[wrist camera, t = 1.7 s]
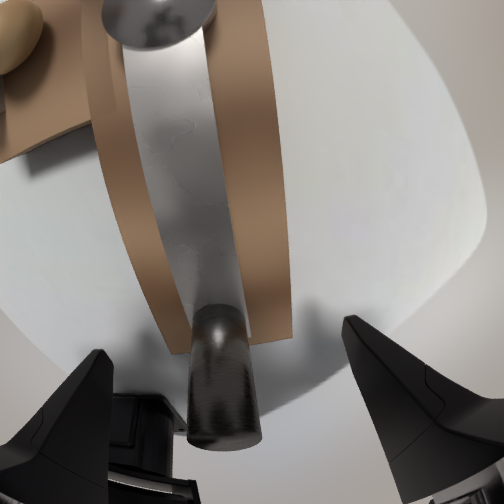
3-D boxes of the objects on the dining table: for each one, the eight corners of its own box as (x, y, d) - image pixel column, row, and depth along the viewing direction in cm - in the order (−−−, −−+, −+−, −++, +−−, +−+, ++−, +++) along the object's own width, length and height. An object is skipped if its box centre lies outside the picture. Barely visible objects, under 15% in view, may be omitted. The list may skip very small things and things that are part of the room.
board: (284, 310, 14) (307, 388, 10) (100, 333, 14) (77, 401, 10) (242, -50, 5) (257, -117, 1) (15, 30, 5) (-52, 23, 1)
